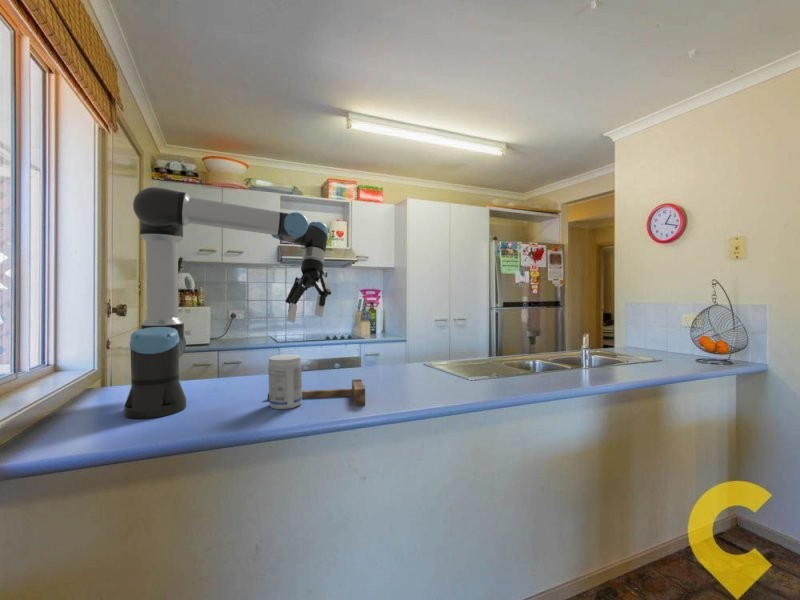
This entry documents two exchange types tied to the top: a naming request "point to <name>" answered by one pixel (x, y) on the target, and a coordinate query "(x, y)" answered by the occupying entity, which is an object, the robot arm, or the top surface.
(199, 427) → the top surface
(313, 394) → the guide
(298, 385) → the supplement tub
